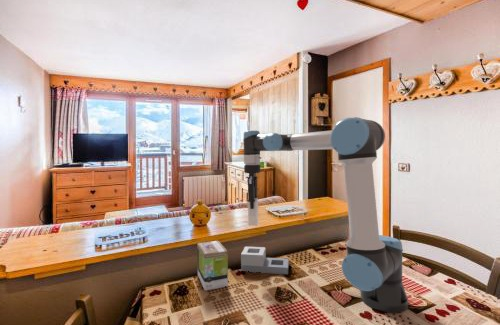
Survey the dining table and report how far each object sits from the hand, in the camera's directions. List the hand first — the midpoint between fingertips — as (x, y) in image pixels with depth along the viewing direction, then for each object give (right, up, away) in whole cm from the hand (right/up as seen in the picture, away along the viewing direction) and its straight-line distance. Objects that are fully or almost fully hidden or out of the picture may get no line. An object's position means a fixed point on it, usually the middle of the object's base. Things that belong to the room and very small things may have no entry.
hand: (253, 214), depth 124 cm
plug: (0, -5, 0) cm, 5 cm away
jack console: (+6, -25, 0) cm, 26 cm away
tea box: (-18, -26, -11) cm, 33 cm away
